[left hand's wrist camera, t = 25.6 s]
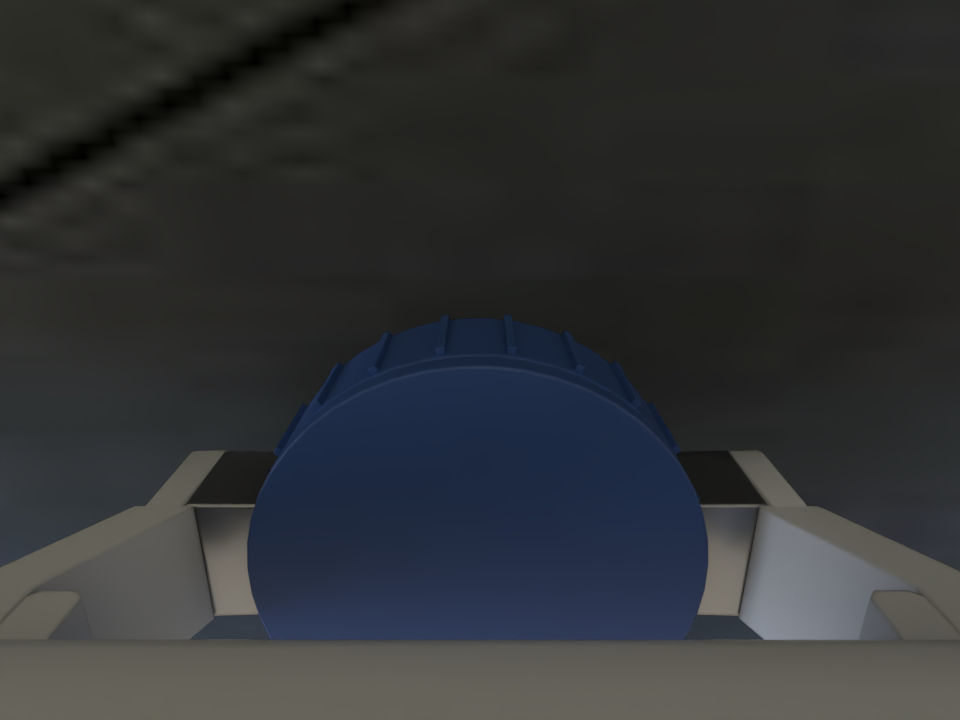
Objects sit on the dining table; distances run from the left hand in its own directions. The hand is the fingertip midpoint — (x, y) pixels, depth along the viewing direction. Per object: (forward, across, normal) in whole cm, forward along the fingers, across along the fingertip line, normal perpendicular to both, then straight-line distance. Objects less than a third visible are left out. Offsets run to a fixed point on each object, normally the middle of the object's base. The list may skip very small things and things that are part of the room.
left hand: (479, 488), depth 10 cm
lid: (-2, 0, 0) cm, 2 cm away
